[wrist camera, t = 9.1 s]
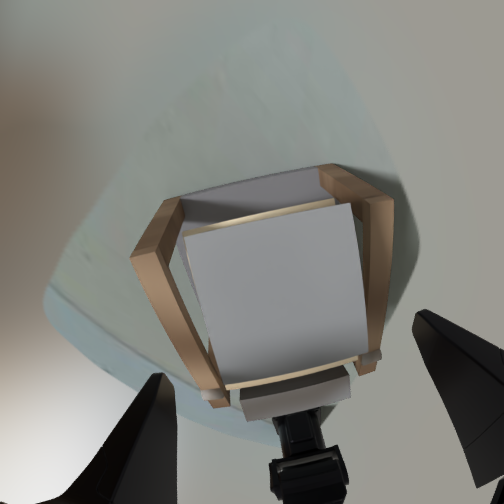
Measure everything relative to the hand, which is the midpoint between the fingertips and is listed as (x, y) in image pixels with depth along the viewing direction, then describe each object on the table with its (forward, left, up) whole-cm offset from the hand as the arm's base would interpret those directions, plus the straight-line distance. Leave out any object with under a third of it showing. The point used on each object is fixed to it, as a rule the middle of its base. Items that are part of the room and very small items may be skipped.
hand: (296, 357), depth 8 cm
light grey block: (0, 0, -6) cm, 6 cm away
